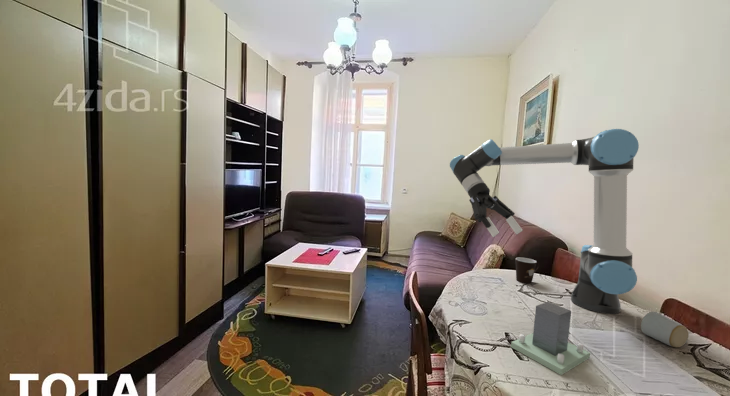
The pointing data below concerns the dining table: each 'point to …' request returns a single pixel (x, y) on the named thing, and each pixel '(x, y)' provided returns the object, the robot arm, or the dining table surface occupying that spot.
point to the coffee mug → (525, 270)
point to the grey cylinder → (664, 329)
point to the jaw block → (551, 328)
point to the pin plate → (555, 363)
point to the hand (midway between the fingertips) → (508, 233)
